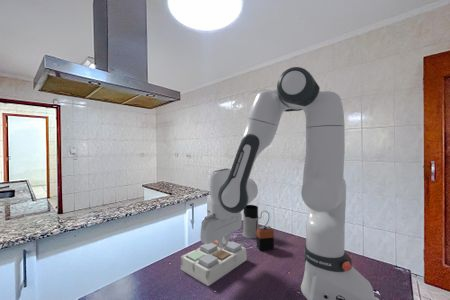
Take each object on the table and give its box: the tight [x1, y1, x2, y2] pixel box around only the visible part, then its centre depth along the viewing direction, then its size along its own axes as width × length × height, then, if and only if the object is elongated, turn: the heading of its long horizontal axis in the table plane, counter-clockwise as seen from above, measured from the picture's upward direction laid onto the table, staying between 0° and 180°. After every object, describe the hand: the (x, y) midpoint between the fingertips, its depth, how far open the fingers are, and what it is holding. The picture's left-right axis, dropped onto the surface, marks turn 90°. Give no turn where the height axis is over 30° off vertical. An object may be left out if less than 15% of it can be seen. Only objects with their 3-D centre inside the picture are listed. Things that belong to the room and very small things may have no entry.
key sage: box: [186, 251, 205, 262], centre depth 83 cm, size 5×5×3 cm
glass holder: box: [242, 204, 270, 239], centre depth 113 cm, size 9×14×15 cm, turn 67°
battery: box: [256, 225, 275, 252], centre depth 99 cm, size 4×7×10 cm, turn 101°
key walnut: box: [212, 250, 230, 261], centre depth 83 cm, size 5×5×3 cm
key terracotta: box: [212, 240, 229, 247], centre depth 93 cm, size 5×5×3 cm
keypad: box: [180, 240, 248, 287], centre depth 86 cm, size 15×22×6 cm
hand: (223, 247), depth 83 cm, fingers closed
